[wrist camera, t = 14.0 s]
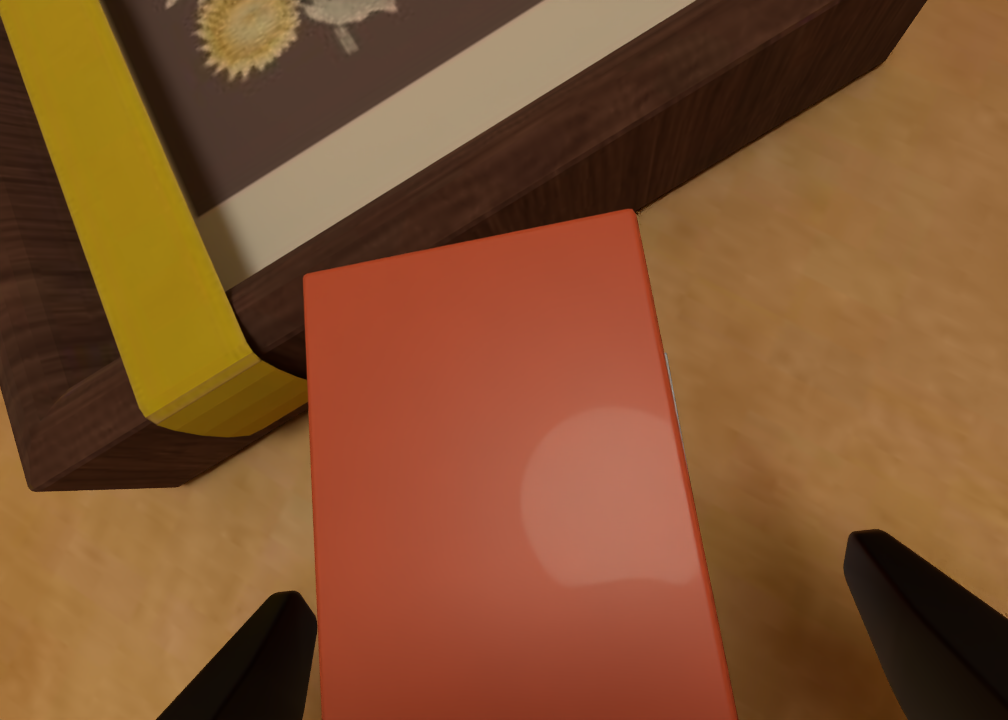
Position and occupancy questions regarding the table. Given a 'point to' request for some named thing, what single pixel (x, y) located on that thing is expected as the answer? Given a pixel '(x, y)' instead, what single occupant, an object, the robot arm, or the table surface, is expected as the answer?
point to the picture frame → (327, 177)
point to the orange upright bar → (505, 487)
